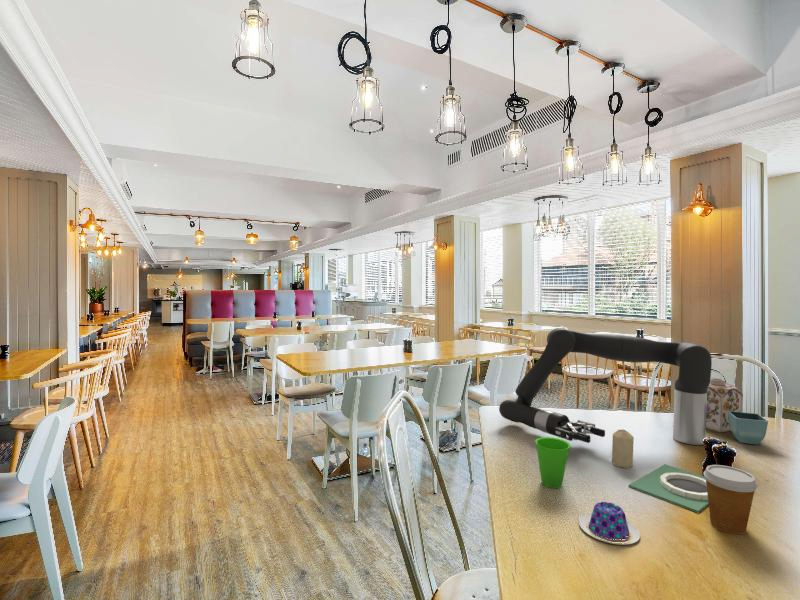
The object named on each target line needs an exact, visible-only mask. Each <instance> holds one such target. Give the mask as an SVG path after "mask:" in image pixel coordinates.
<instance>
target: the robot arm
mask: <svg viewBox="0 0 800 600" xmlns="http://www.w3.org/2000/svg"><path fill="white" fill-rule="evenodd" d="M546 343H547V344H546V345H545V348H544V350H543V352H542V354H541V355H540V356H539V358H538V360H537V361H536V362H535V363H534V364H533V366H532V367H531V368H530V369H529V370H528V372H526V374H525V375H524V377H523V378H522V380H521V381H520V382H519V383H518V386H517V387H516V389H515V394H516V396H517V399H516V401H515V400H511V399H506V400H504V401H502V402H501V403H500V405H499V407H498V411H499V414H500V415H501V417H503V418H504V419H506V420H508V421H510V422H514V423H516V424H517V423H520V424H523V425H524V426H525V425H526V426H527V427H529V428H533V429H536V430H539V431H540V432H543V433H545V434H549V435H551V436H555V437H556V438H560V439H563V440H567V441H571V442H572V441H573V440H574V441H581V442H583V443H584V442H585V443H587V444H589V443H591V436H590V435H594V436H597V437H598V436H599V437H601V438H604V437H605V436H606V430H605V429H602V428H599V427H596V424H595V423H592V422H587V421H583V420H581V419H578V420H577V421H574V420H573V421H571V420H570V419H569V417H568V416H567V415H566V414H562V413H558V412H557V411H552V410H548V409H542V408H538V407H534V406H532V403H533V401H534V399H535V398H536V396H537V395H538V393H539V392H540V391H541V389H542V387H543V385H544V384H545V383H546V381H547V380H548V378H549V377H550V375H551V373H553V371H554V370H555V368H556V367H557V366H558V365H559V364H560V363H561V362H562V361H563V359H564V358H565V357H566V356H567V355H568V354H569V353H579V354H587V355H592V356H595V357H599V358H602V359H606V360H611V361H617V362H622V363H623V362H624V363H636V364H638V363H640V364H641V363H661V364H667V365H673V366H676V367H679V368H678V369H679V370H678V377H677V379H676V380H675V381H674V382H675V383H674V391H673V393H674V397H673V398H674V400H673V425H672V439H673V440H674V441H677V442H680V443H682V444H687V445H693V446H703V445H704V444H703V439H704V438H705V439H706V436H707V435H706V432H707V428H706V411H707V389H708V386H709V384H710V379H711V378H712V377H711V376H712V365H713V363H712V362H713V361H712V356H711V353H710V351H709V350H708V349H707V348H705V347H704V346H702V345H700V344H696V343H693V342H679V341H678V342H674V341H672V342H669V341H658V340H652V339H648V338H643V337H639V336H638V337H637V336H631V335H625V334H624V335H623V334H622V335H621V334H611V333H610V334H609V333H586V332H579V331H575V330H570V329H567V328H564V327H557V328H554V329H552V330H550V332H549V333H548V334H547V337H546ZM589 434H590V435H589Z"/></svg>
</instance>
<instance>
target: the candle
mask: <svg viewBox="0 0 800 600" xmlns="http://www.w3.org/2000/svg"><path fill="white" fill-rule="evenodd" d="M611 445H612V447H611V448H612V451H611V463H612V464H613V465H614V466H617V467H620V468H623V469H624V468H625V469H628V468H629V469H630V468H632V467H633V464H634V435H632V434H631V433H630V432H629V431H627V430H626V429H617V430H616V431H614V432H613V433H612V444H611Z"/></svg>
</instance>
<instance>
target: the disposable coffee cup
mask: <svg viewBox="0 0 800 600" xmlns="http://www.w3.org/2000/svg"><path fill="white" fill-rule="evenodd" d="M703 476H704V477H705V479H706V485H707V494H708V503H709V505H708V510H709V521H710V524H711V525H712V526H713V527H715V528H716V529H718V530H720V531H723V532H725V533H728V534H733V535H744V534H746V533H747V529H748V523H749V519H750V518H749V517H750V514H751V510H752V505H753V499H754V494H755V491H756V490H757V488H758V487H759V486H758V485H759V484H758V483H757V481H756V477H755V476H754V475H753V474H751V473H749V472H748V471H746V470H744V469H739V468H736V467H733V466H730V465H729V466H728V465H721V464H711V465H707V466H706V468H705V470H704V471H703Z"/></svg>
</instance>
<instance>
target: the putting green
mask: <svg viewBox="0 0 800 600" xmlns="http://www.w3.org/2000/svg"><path fill="white" fill-rule="evenodd" d="M628 488H632V489H633V490H637V491H639V492H642V493H644V494H647V495H649V496H652V497H655V498H658V499H661V500H662V501H666V502H669V503H671V504H673V505H677V506H679V507H681V508H684V509H686V510H689V511H692V512H695V513H698V514H699V513H700V512H701V511H703V510H704V509H705V508H706V507H707V506H708V507H709V503H708V494H707V485H706V479H705V476H704V475H700V474H697V473H694V472H691V471H687V470H685V469H682V468H678V467H675V466H671V465H669V464H666V463H664V464H663V465H661V466H659V467H656V468H654V470H652V471H650V472H648V473H646V474H645V475H643V476H642V477H640V478H638V479H636V480H634V481H633V482H631V483H630V484H628Z"/></svg>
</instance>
